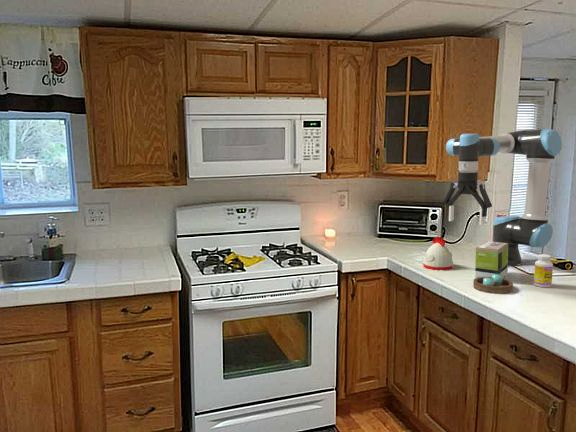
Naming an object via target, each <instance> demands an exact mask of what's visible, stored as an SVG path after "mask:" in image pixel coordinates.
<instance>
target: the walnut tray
mask: <svg viewBox="0 0 576 432" xmlns="http://www.w3.org/2000/svg"><path fill="white" fill-rule="evenodd" d="M483 278H486V277H478V278H475V277H474V279H473V288H474V289H475V290H477V291H479V292H483V293H487V294H495V295H496V294H499V295H501V294H504V295H505V294H509V293H512V292H513V290H514V282H513V281H511V280H509V279H506V278H504V277H503V278H502V285H501V286H496V283H497V282H495V281H494V286H487V285H483ZM489 278H492V277H489Z"/></svg>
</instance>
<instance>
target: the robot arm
mask: <svg viewBox="0 0 576 432" xmlns="http://www.w3.org/2000/svg"><path fill="white" fill-rule="evenodd" d="M562 147H563V141H562V137H561V136H560V134H559V133H558V131H556V130H555V129H549V128H548V129H545V128H542V129H521V130H517V131H511V132H504V133H501V134H500V135H491V136H480V134H479V133H462V134H461V135H460V136H459V138H457V137H456V138H450V139H449V140H448V141H447V142H446V144H445V150H446V153H447V154H448V155H449V156H454V157H455V156H456V157H458V156H459V157H458V171H459V172H457V173H458V175H457V176H458V177H457V181H458V182H451V183H450V187H449V190H448V191H447V194H446V196H445V197H444V200H443V202H442V203H443V204H444V205H447V210H446V211H447V213H448V222H453V221H454V218H455V215H454V214H455V205H454V203H455V202H456V201H457V200H458V199H459V198H460V197H461V195H469V196H470V195H471V196H472V197H474V199H475V200H476V202H477V203H478V205H479V206H480V209H479V220H478V221H479V223H478V224H479V226H482V225H485V219H486V218H485V217H487V215H488V209H489V208H492V207H493V204H492V202H491V200H490V197H489V195H488V193H487V191H486V184H485V183H483V184H482V183H480V184H478V178H479V173H478V172H477V171H479V157H492V156H496V155H497V154H498V153H501V154H513V155H522V156H525V159H526V160H527V161H528V163H529V164H528V174H527V183H526V191H525V192H526V195H525V201H524V202H525V203H524V213H523V214H522V215H521V216H520V215H502V216H496V217H495V218H494V220H493V225H492V226H493V227H492V228H493V229H492V230H493V231H492V233H493V234H492V242H500V243H508V267H510V266H511V267H512V266H519V265H518V264H520V265H521V264H522V255H521V253H520V248H519V245H522V246H528V247H531V248H544V247H545V246H547V245H548V244H549V243H550V242H551V239H552V237H553V233H554V230H553V226H552V225H551V224H550V223H549V218H548V217H547V216H546V208H547V207H546V206H547V198H548V190H549V189H548V188H549V178H550V169H551V163H552V162H553V161H555V157H556V156H558V155H559V154H560V153H561V151H562ZM457 188H458V190H457V191H456V189H457ZM477 189H478V190H479V192H480V194H479V192H478V190H477ZM455 191H456V193H455ZM454 193H455V194H454Z"/></svg>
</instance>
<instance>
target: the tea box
mask: <svg viewBox="0 0 576 432" xmlns="http://www.w3.org/2000/svg"><path fill="white" fill-rule="evenodd" d="M474 263H475V267H474V271H475V272H474V279H475V278H478V277H492V274H501V275H502V278H503V279H504V277H506V275H508V273H509V272H508V271H509V270H508V267H509V266H508V243H500V242H493V241H488V240H486V241H484V242H482V243H481V244H479V245H477V246H475V262H474Z"/></svg>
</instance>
